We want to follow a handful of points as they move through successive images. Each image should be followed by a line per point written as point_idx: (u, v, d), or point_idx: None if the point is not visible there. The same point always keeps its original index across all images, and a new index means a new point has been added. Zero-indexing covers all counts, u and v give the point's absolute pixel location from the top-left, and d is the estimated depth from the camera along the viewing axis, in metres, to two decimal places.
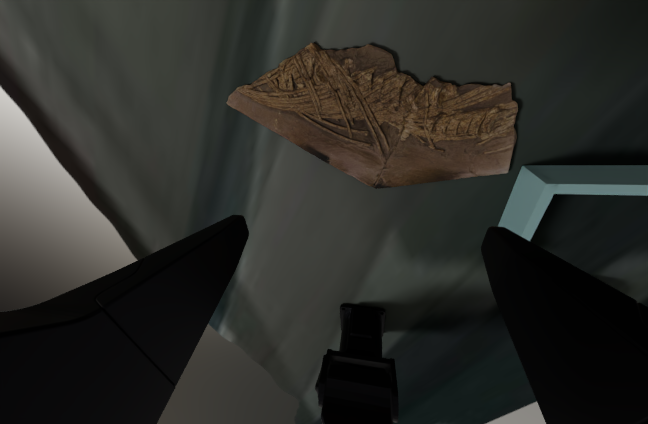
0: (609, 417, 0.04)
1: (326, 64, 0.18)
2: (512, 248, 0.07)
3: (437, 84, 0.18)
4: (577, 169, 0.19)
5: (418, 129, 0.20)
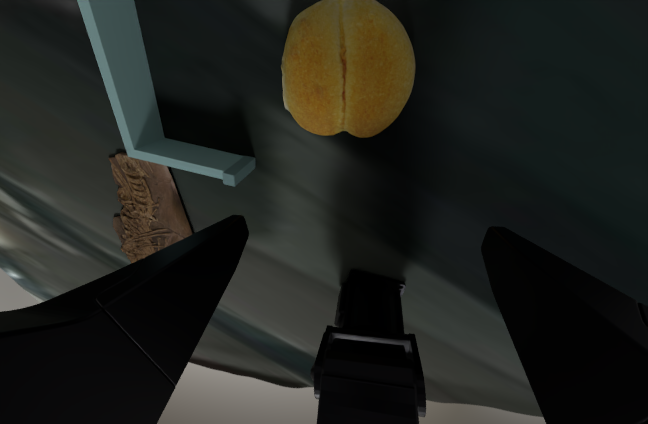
0: (609, 417, 0.04)
1: (126, 246, 0.33)
2: (512, 248, 0.07)
3: (120, 198, 0.28)
4: None
5: (148, 211, 0.28)
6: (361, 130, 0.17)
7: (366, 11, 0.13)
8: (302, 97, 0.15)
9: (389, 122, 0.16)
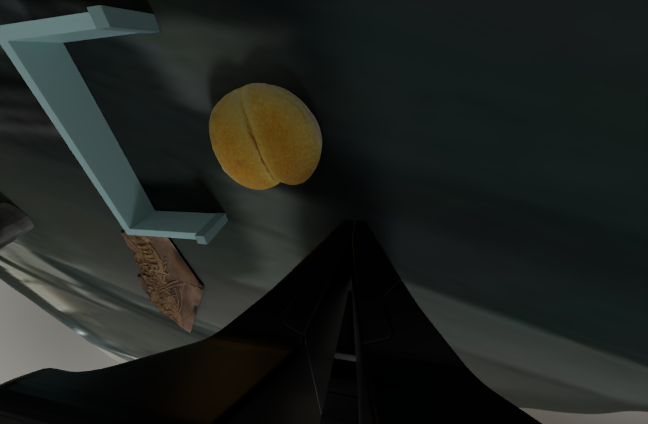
0: (358, 375, 0.05)
1: (153, 299, 0.38)
2: (351, 238, 0.07)
3: (137, 261, 0.34)
4: None
5: (160, 268, 0.34)
6: (289, 181, 0.19)
7: (257, 97, 0.16)
8: (231, 170, 0.19)
9: (310, 170, 0.19)
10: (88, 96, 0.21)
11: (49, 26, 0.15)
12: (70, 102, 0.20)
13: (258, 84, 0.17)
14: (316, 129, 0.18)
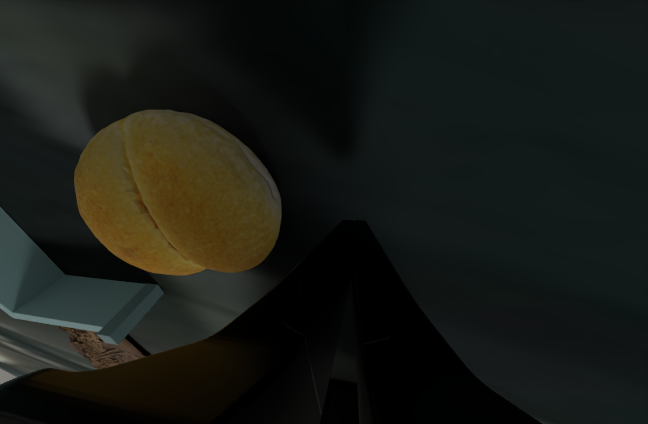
0: (358, 375, 0.05)
1: (94, 363, 0.30)
2: (351, 239, 0.07)
3: (62, 327, 0.26)
4: None
5: (92, 336, 0.25)
6: None
7: (142, 140, 0.08)
8: (121, 258, 0.11)
9: (260, 257, 0.11)
10: None
11: None
12: None
13: (150, 114, 0.09)
14: (265, 193, 0.10)
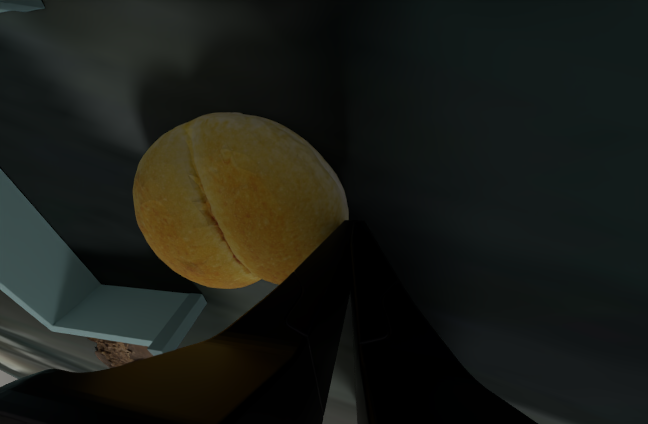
0: (355, 375, 0.05)
1: None
2: (349, 238, 0.07)
3: (90, 337, 0.25)
4: None
5: (121, 346, 0.25)
6: None
7: (218, 146, 0.08)
8: (179, 273, 0.10)
9: None
10: None
11: None
12: None
13: (222, 117, 0.08)
14: (340, 201, 0.09)
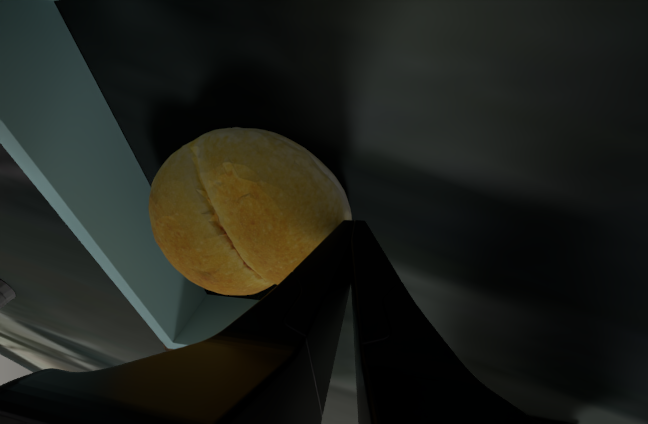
0: (357, 375, 0.05)
1: None
2: (350, 238, 0.07)
3: (167, 348, 0.23)
4: None
5: None
6: None
7: (220, 160, 0.08)
8: (195, 282, 0.10)
9: None
10: (107, 117, 0.10)
11: None
12: (70, 133, 0.09)
13: (222, 133, 0.09)
14: (340, 202, 0.09)
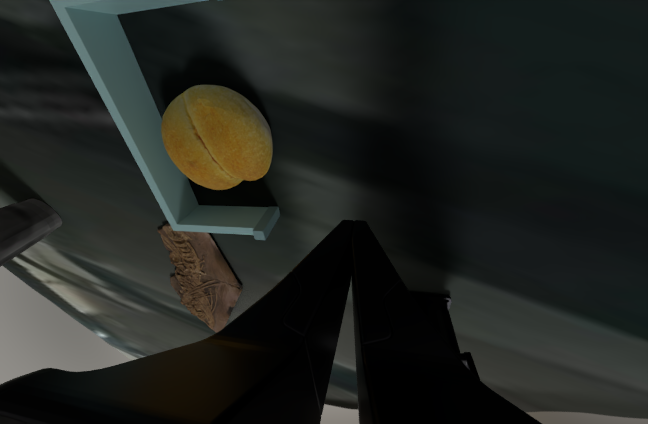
0: (358, 375, 0.05)
1: (184, 299, 0.36)
2: (351, 238, 0.07)
3: (172, 260, 0.32)
4: None
5: (196, 267, 0.32)
6: (245, 177, 0.20)
7: (195, 98, 0.17)
8: (187, 172, 0.19)
9: (262, 163, 0.19)
10: (140, 77, 0.19)
11: None
12: (123, 82, 0.18)
13: (197, 86, 0.17)
14: (259, 121, 0.18)
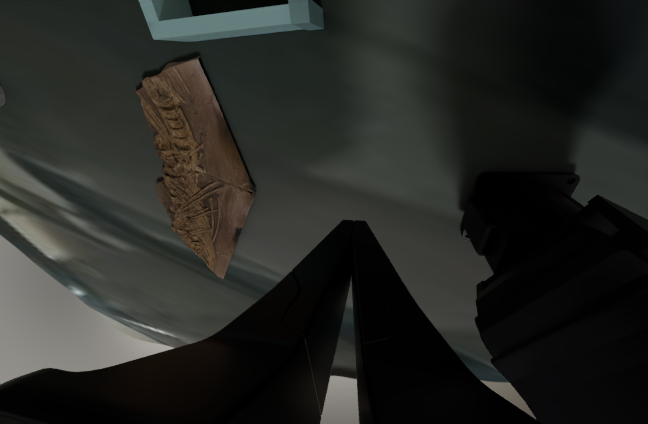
0: (358, 375, 0.05)
1: (176, 222, 0.27)
2: (351, 239, 0.07)
3: (158, 150, 0.23)
4: None
5: (192, 159, 0.23)
6: None
7: None
8: None
9: None
10: None
11: None
12: None
13: None
14: None
